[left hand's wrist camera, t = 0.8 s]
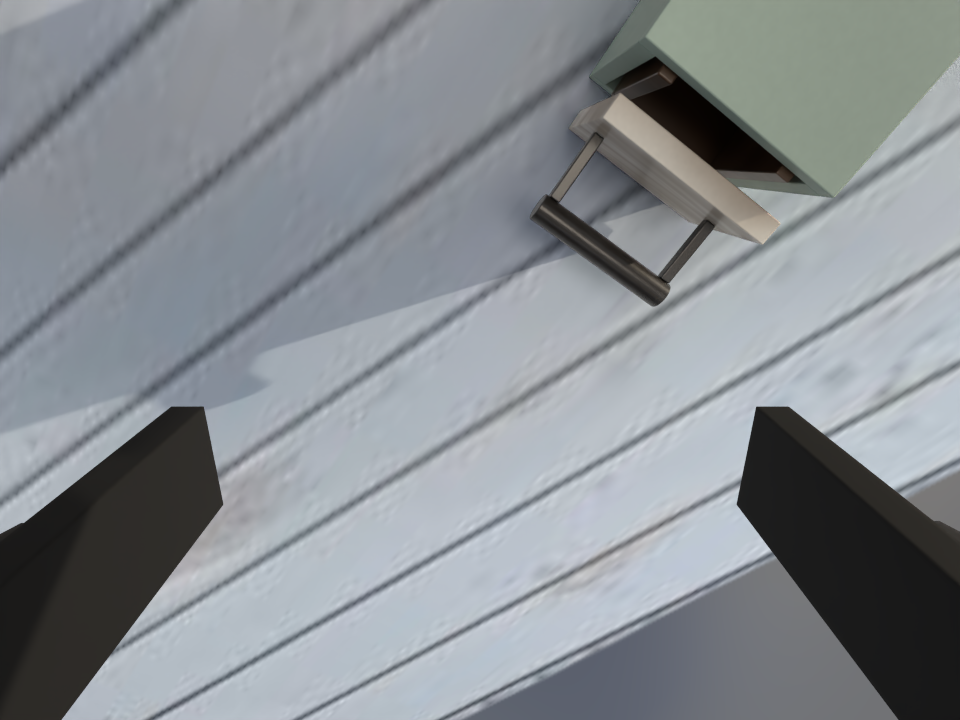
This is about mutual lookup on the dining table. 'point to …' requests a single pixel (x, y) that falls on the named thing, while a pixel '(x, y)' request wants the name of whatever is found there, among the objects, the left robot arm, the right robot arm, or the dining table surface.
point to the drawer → (665, 172)
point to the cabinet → (797, 72)
